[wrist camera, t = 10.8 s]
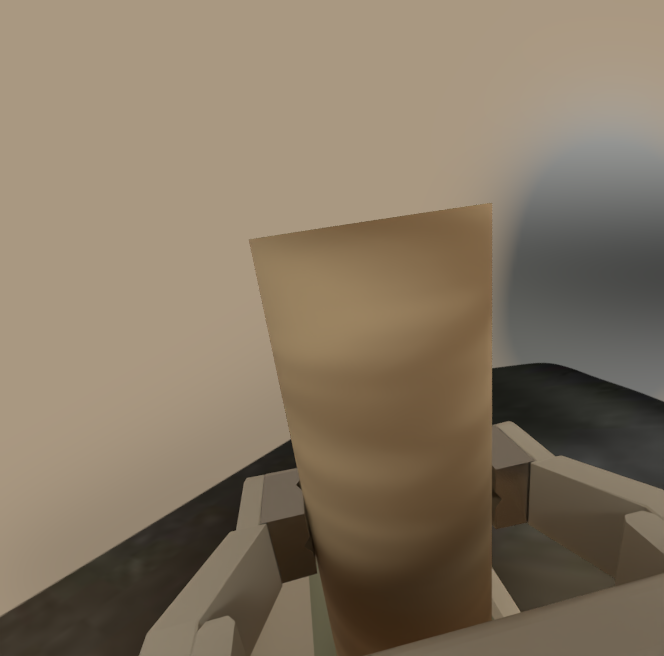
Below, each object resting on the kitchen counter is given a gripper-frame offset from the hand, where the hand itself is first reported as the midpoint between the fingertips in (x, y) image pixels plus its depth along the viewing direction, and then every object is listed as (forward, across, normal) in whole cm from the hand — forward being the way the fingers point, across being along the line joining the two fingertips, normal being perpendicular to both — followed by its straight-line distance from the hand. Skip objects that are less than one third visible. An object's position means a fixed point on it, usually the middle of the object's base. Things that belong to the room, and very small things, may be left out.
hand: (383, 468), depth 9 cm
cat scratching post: (-1, 0, -8) cm, 8 cm away
